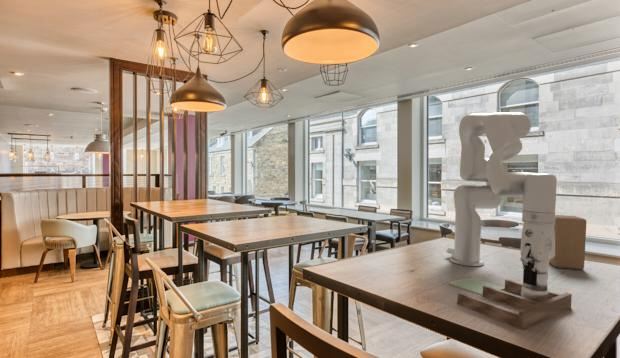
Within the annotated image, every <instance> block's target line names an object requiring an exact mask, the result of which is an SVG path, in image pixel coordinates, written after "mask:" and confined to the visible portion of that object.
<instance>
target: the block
mask: <svg viewBox="0 0 620 358" xmlns="http://www.w3.org/2000/svg"><path fill="white" fill-rule="evenodd" d="M554 230H555V257H554V258H552V259H550V262H549V265H550V264H551V265H552V266H553V267H554V268H556V267H557V268H559V269H566V268H567V269H568V270H576V269H577V270H576V271H582V270H584V269H585V260H586V259H585V257H586V240H587V239H586V238H587V237H586V235H587V220H586V219H585V218H583V217H579V216H575V215H562V214H555V225H554ZM557 268H556V269H557Z"/></svg>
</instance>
